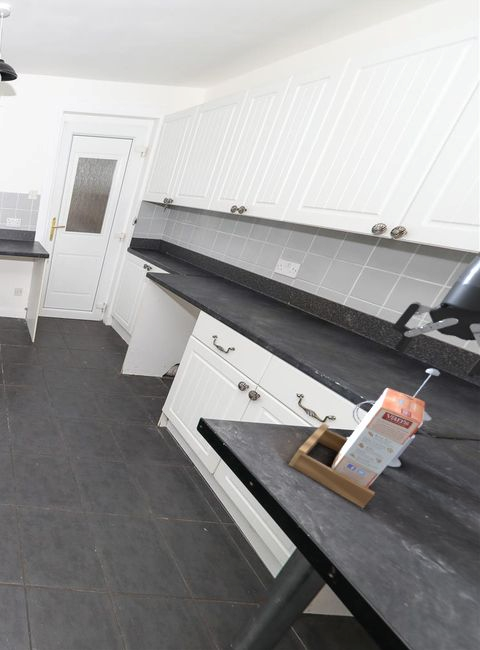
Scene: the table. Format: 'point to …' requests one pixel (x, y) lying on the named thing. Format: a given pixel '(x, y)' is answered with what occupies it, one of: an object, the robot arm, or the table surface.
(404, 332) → the robot arm
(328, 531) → the table surface
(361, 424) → the cracker box
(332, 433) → the rack
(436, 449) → the table surface
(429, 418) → the french press
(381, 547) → the table surface
